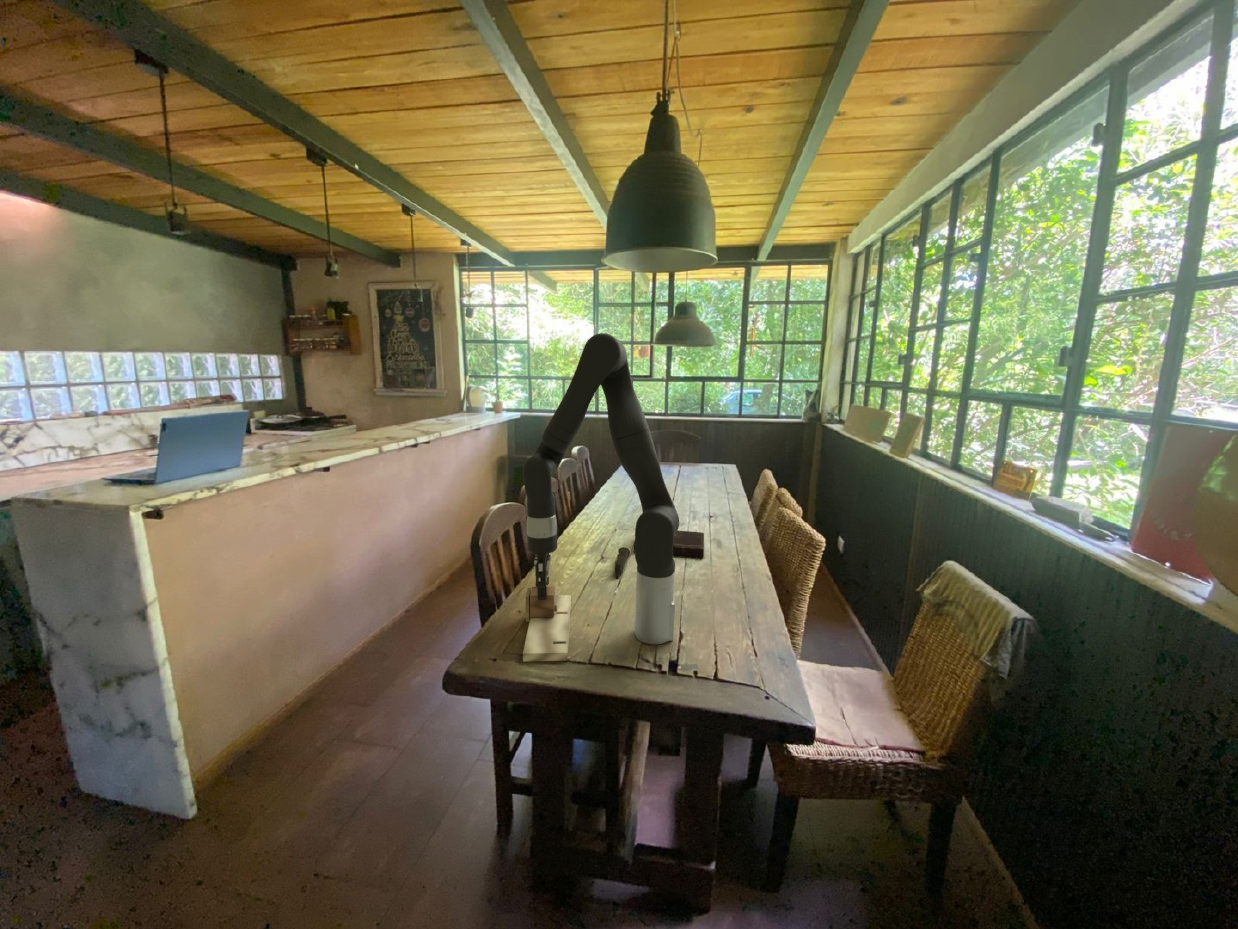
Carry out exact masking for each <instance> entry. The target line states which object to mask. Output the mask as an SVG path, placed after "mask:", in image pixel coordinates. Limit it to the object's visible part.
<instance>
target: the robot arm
mask: <svg viewBox="0 0 1238 929" xmlns="http://www.w3.org/2000/svg"><path fill="white" fill-rule="evenodd" d="M599 387H601V389H602V391H603V395H604V398H605V402H606V406H607V407H606V409H607V421H608V428H609V429H608V430H609V434H610V437H611V441H612V444H613V446H614V450H615V453H616V456H617V458H618V462H619V463H620V464H621V466H622V468H623V469H624V471H625V473H626V474H627V476H628V477H629V479H630V480H631V481H632V483H633V484H634V487H635V489H636V491H637V494H638V498H639V501H640V506H641V510H642V513H641V514H640V515H639V516H638V518H637V521H636V523H635V529H634V531H635V532H634V542H635V553H634V558H635V562H636V585H635V586H636V588H635V616H634V617H635V618H634V636H635V638H636V639H637V640H639V641H640V642H641V643H644V644H647V645H662V644H665V643H667V642H670V641H671V642H672V641H674V636H675V635H674V634H675V618H676V616H675V615H676V604H675V601H674V598H675V597H674V595H675V594H674V593H675V592H674V591H675V572H676V571H675V570H676V561H675V559H674V556H673V539H674V535H675V534H676V532H677V530H678V531H679V527H680V518H679V514H678V511H677V509H676V507H675V504H674V501H673V500H672V498H671V495H670V493H669V491H668V487H667V486H666V483H665V480H664V477H663V473H662V469H661V465H660V462H659V457H658V454H657V452H656V448H655V443H654V439H653V437H652V434H651V431H650V426H649V424H648V421H647V419H646V416H645V414H644V411H643V407H642V405H641V403H640V401H639V398H638V396H637V393H636V392H635V388H634V385H633V380H632V375H631V371H630V366H629V360H628V355H627V350H626V348H625V346H624V344H623V343H622V342H621V341H620V340H619V339H618V338H617V337H616V336H614V335H612V334H609V333H606V332H599V333H596V334H594V335H592V336H590V338H588V340H587V341H586V342H585V344H584V347H583V349H582V352H581V355H580V357H579V359H578V363H577V365H576V369H575V371H574V374H573V376H572V378H571V381H570V383H569V385H568V387H567V389H566V391H565V393H564V396H563V397H562V399H561V401H560V403H559V404H558V406H557V408H556V410H555V412H554V414H553V415H552V416H551V419H550V420H549V422H548V424H547V426H546V428H545V429H544V431H543V434H542V436H541V442H540V443H539V446H538V447H537V448H536V450H535V452H534V453H533V455H531V456H530V457H529V458H527V459H526V460H525V462H524V464H523V467H522V481H523V486H524V492H525V496H526V512H527V513H526V514H527V518H526V544H527V545H526V548H527V551H528V552H529V553H531V554H534V555H535V556H534V559H533V560H534V561H533V564H534V576H535V586H534V587H537V590H538V600H546V599H547V587H548V585H549V583H550V569H551V560H552V555H551V554H552V553H554V552H555V551H556V550H557V549H558V523H557V521H558V520H557V514H556V496H555V494H554V493H553V490H552V478H553V476H555V474H556V472H557V470H558V469H559V467H560V464H561V463H562V461H563V458H564V456H565V453H566V452H567V450H568V449H569V447H570V446H571V444H572V443H573V441H574V439H575V437H576V435H577V434H578V433H579V431H580V429H581V427H582V424H583V422H584V420H585V418H586V414H587V411H588V408H589V406H590V404H591V402H592V400H593V397H595V394H596V393H597V391H598V388H599Z"/></svg>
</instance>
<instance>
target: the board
mask: <svg viewBox="0 0 1238 929" xmlns="http://www.w3.org/2000/svg"><path fill="white" fill-rule="evenodd" d="M571 596H572V595H571V594H569V595H566V594H565V595H559V594H558V595H556V594H555V605H557V612H554V617H530V620H529V622H528V628H527V632H526V635H525V636H526V638H525V642H524V646H523V652H522V662H523V663H524V662H525V663H526V662H555V661H561V662H565V661H566V662H567V661H568V660H569V639H570V624H571V622H570V620H571V601H572V598H571Z"/></svg>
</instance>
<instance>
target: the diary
mask: <svg viewBox="0 0 1238 929" xmlns="http://www.w3.org/2000/svg"><path fill="white" fill-rule="evenodd" d="M633 554H635V541H634V542H633ZM704 555H705V532H701V531H690V530H679V529H678V530H677V532H676V534H675V535H674V539H673V557H675V558H676V557H677V558H689V559H697V558H699V559H700V560H704Z"/></svg>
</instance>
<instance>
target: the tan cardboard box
mask: <svg viewBox="0 0 1238 929" xmlns="http://www.w3.org/2000/svg"><path fill="white" fill-rule="evenodd" d="M555 595H556V586H547V599H546V600H538V590H537V587H536V586H532V587H527V590H526V594H525V622H526V623H529V622H530V617H554V612H557V605H555Z"/></svg>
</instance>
